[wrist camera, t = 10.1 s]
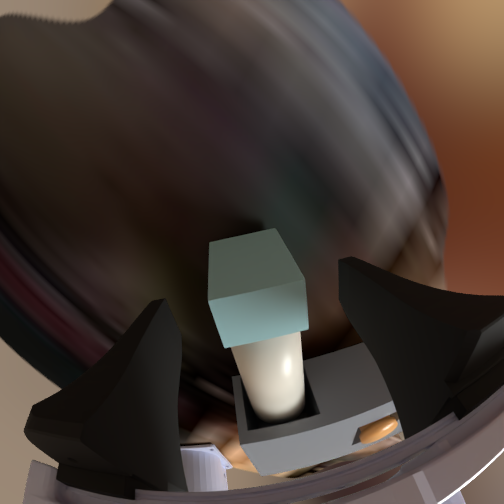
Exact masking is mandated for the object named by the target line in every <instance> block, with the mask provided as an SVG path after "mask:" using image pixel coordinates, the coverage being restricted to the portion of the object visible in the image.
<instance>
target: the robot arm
mask: <svg viewBox="0 0 504 504" xmlns="http://www.w3.org/2000/svg"><path fill="white" fill-rule="evenodd" d="M338 264H339V301H340V303H341V305H342V307H343V310H344V312H345V314H346V316H347V318H348V319H349V321H350V322H351V324H352V325H353V327H354V328H355V330H356V331H357V333H358V335H359V336H360V338H361V339H362V341H363V342H364V344H365V345H366V347H367V348H368V350H369V351H370V353H371V354H372V356H373V358H374V360H375V361H376V363H377V365H378V367H379V370H380V372H381V374H382V376H383V378H384V380H385V383H386V385H387V388H388V390H389V393H390V395H391V397H392V400H393V403H394V406H395V409H396V411H397V414H398V417H399V421H400V424H401V427H402V431H403V434H404V438H405V440H403V441H401V442H399V443H397V444H395V445H393V446H391V447H389V448H387V449H384V450H382V451H380V452H378V453H375V454H373V455H370V456H368V457H366V458H363V459H360V460H358V461H355V462H352V463H350V464H347V465H344V466H341V467H338V468H335V469H332V470H329V471H325V472H322V473H319V474H315V475H311V476H307V477H304V478H299V479H295V480H291V481H287V482H281V483H276V484H271V485H266V486H259V487H252V488H244V489H235V490H228V486H227V476H226V469H231V468H233V467H232V465H231V464H230V462H229V461H228V460H227V459H226V458H225V457H224V456H223V455H222V454H221V452H220V451H219V450H218V449H217V448H216V447H215V445H213V444H207V445H194V446H180V440H179V429H178V410H177V407H178V391H179V381H180V371H181V361H182V337H181V333H180V331H179V329H178V326H177V324H176V322H175V320H174V317H173V315H172V313H171V310H170V308H169V306H168V303H167V301H166V299H165V298H164V299H159V300H154V301H151V302H150V303H149V304H148V306H147V307H146V308H145V309H144V310H143V311H142V313H141V314H140V315H139V316H138V318H137V319H136V320H135V321H134V322H133V324H132V325H131V326H130V327H129V329H128V330H127V331H126V332H125V333H124V334H123V336H122V337H121V338H120V339H119V340H118V341H117V342H116V343H115V345H114V346H113V347H112V348H111V349H110V350H109V351H108V352H107V353H106V354H105V355H104V356H103V357H102V358H101V359H100V360H99V361H98V362H97V363H96V364H95V365H93V366H92V367H91V368H90V369H89V370H87V371H86V372H85V373H84V374H82V375H81V376H80V377H79V378H77V379H76V380H75V381H73V382H72V383H71V384H69V385H68V386H66V387H65V388H63V389H62V390H60V391H59V392H57V393H55V394H53V395H52V396H50V397H48V398H46V399H44V400H42V401H40V402H38V403H37V404H34V405H33V406H32V409H31V411H30V414H29V417H28V420H27V422H26V426H25V428H24V433H25V435H26V437H27V438H28V440H29V441H30V442H31V443H32V444H34V445H35V446H36V447H37V448H39V449H40V450H41V451H43V452H44V453H45V454H47V455H48V456H50V457H51V458H52V459H54V460H55V461H57V462H58V463H59V466H58V469H57V468H55V467H52V466H50V465H47V464H44V463H41V462H38V461H35V460H32V461H31V465H30V470H29V473H28V478H27V483H26V488H25V493H24V499H23V504H289V503H294V502H298V501H303V500H307V499H311V498H315V497H318V496H322V495H325V494H329V493H332V492H335V491H338V490H341V489H344V488H347V487H350V486H353V485H355V484H358V483H361V482H363V481H366V480H369V479H371V478H373V477H375V476H378V475H380V474H383V473H385V472H387V471H389V470H391V469H393V468H396V467H398V466H400V465H402V464H404V463H406V462H407V463H406V464H404V465H402V466H401V468H400V471H398V472H397V473H396V474H395V475H394V476H392V477H391V478H390V479H388V480H387V481H385V482H383V483H381V484H378V485H376V486H373V487H370V488H368V489H365V490H362V491H360V492H357V493H354V494H351V495H348V496H345V497H342V498H339V499H336V500H332V501H329V502H326V503H322V504H466V503H465V500H464V498H463V496H462V494H461V492H460V489H462V488H463V487H464V486H465V485H467V484H468V483H469V482H470V481H471V480H473V479H474V478H475V477H476V476H478V475H479V474H480V473H481V472H482V471H483V470H484V469H485V468H486V467H487V466H489V465H490V464H491V463H492V462H493V461H494V460H495V459H496V458H497V457H498V456H499V455H500V454H501V453H502V452H503V451H504V296H488V295H486V296H484V295H472V294H463V293H456V292H451V291H446V290H441V289H437V288H433V287H430V286H426V285H423V284H419V283H416V282H413V281H411V280H408V279H405V278H403V277H400V276H397V275H395V274H393V273H390V272H388V271H385V270H383V269H381V268H379V267H376V266H374V265H372V264H370V263H367V262H365V261H363V260H360V259H358V258H355V257H352V256H351V257H347V258H343V259H339V260H338ZM413 458H414V459H413ZM411 459H412V460H411ZM409 460H410V461H409ZM408 461H409V462H408Z"/></svg>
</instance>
